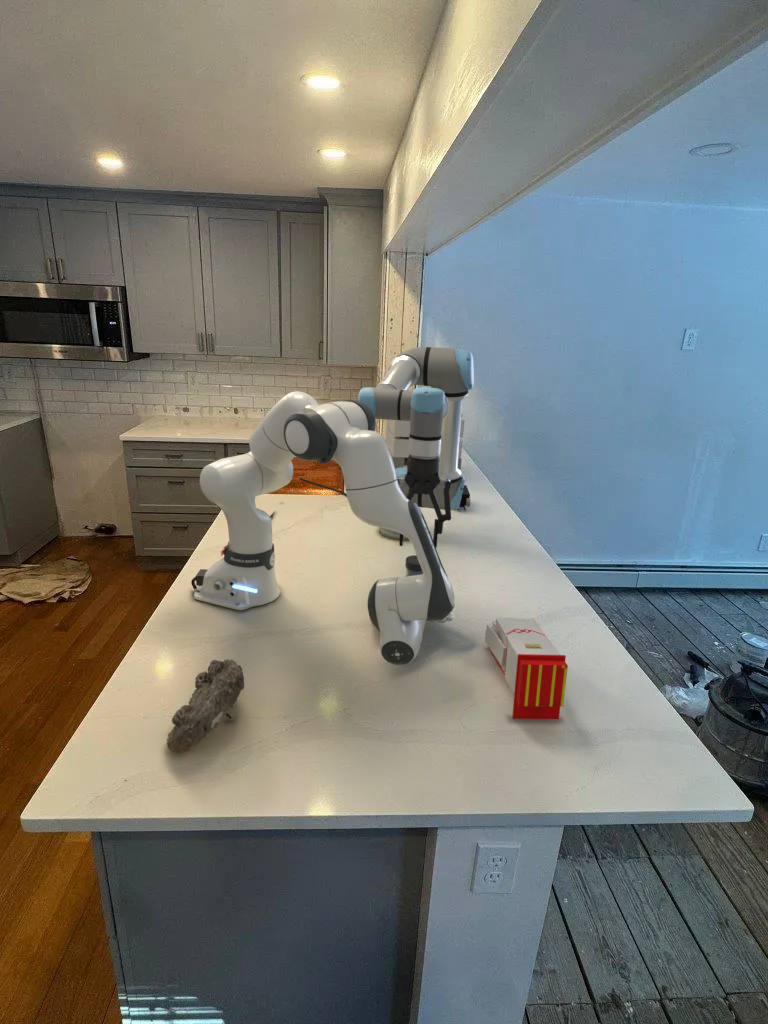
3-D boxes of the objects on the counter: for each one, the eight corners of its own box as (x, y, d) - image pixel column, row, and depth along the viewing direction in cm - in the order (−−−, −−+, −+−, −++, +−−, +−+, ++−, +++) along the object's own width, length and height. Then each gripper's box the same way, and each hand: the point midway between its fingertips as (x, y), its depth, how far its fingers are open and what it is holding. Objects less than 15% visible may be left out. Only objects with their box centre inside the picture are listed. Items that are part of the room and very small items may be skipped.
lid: (413, 573, 139) (414, 566, 139) (400, 564, 144) (401, 557, 143) (432, 568, 142) (432, 561, 142) (418, 560, 147) (419, 553, 146)
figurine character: (470, 515, 225) (465, 499, 238) (472, 498, 221) (467, 483, 235) (453, 515, 224) (449, 499, 238) (455, 497, 221) (451, 482, 234)
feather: (282, 505, 226) (285, 501, 225) (264, 529, 199) (267, 524, 198) (279, 503, 225) (281, 499, 225) (260, 526, 199) (263, 522, 198)
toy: (531, 603, 136) (576, 661, 106) (526, 655, 139) (569, 725, 109) (481, 602, 135) (512, 660, 106) (477, 654, 138) (507, 724, 109)
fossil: (192, 660, 117) (244, 628, 112) (224, 691, 120) (276, 661, 115) (142, 746, 98) (202, 712, 93) (182, 779, 101) (242, 748, 96)
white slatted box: (382, 463, 289) (386, 382, 275) (445, 464, 293) (451, 384, 279) (390, 482, 257) (394, 392, 243) (460, 483, 261) (468, 394, 247)
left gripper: (453, 610, 131) (456, 583, 144) (366, 599, 134) (377, 574, 147) (450, 634, 133) (454, 605, 146) (365, 622, 136) (376, 596, 149)
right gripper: (465, 453, 137) (457, 540, 144) (380, 449, 137) (376, 537, 144) (469, 461, 130) (460, 552, 137) (379, 457, 130) (376, 548, 137)
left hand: (414, 589), depth 146 cm, fingers closed on jar, 5 cm apart
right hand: (417, 544), depth 141 cm, fingers open, 8 cm apart
